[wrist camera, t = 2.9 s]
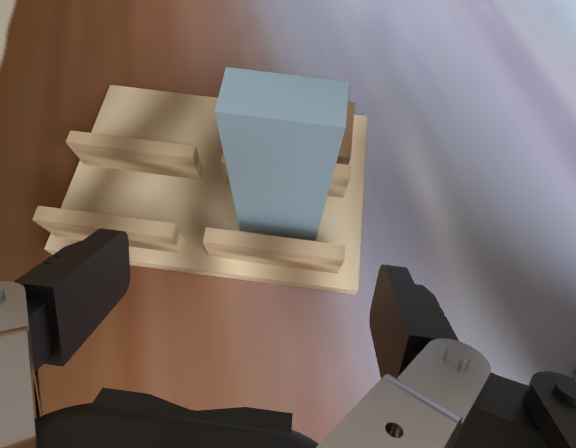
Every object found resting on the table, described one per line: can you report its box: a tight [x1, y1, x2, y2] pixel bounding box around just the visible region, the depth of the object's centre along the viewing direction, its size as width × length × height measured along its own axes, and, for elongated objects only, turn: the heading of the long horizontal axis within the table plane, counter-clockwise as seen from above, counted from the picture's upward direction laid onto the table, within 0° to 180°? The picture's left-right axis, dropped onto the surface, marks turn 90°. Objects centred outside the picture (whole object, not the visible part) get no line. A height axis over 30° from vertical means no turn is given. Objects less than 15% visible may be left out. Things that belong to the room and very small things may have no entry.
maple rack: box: [32, 85, 368, 295], centre depth 29 cm, size 22×15×4 cm
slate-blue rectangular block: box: [215, 67, 349, 241], centre depth 23 cm, size 6×2×13 cm, turn 83°
